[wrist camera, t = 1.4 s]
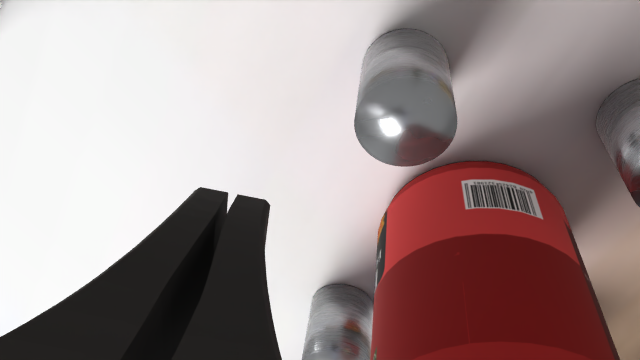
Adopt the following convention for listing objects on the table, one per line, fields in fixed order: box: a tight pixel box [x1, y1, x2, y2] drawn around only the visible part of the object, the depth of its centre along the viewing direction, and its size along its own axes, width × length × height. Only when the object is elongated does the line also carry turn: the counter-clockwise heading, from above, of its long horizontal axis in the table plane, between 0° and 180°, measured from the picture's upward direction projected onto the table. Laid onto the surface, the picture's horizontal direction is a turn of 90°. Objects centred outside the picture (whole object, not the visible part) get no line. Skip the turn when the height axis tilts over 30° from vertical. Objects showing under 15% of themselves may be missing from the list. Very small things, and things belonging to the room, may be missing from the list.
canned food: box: [370, 161, 620, 360], centre depth 20 cm, size 8×8×11 cm
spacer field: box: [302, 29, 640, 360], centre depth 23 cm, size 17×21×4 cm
